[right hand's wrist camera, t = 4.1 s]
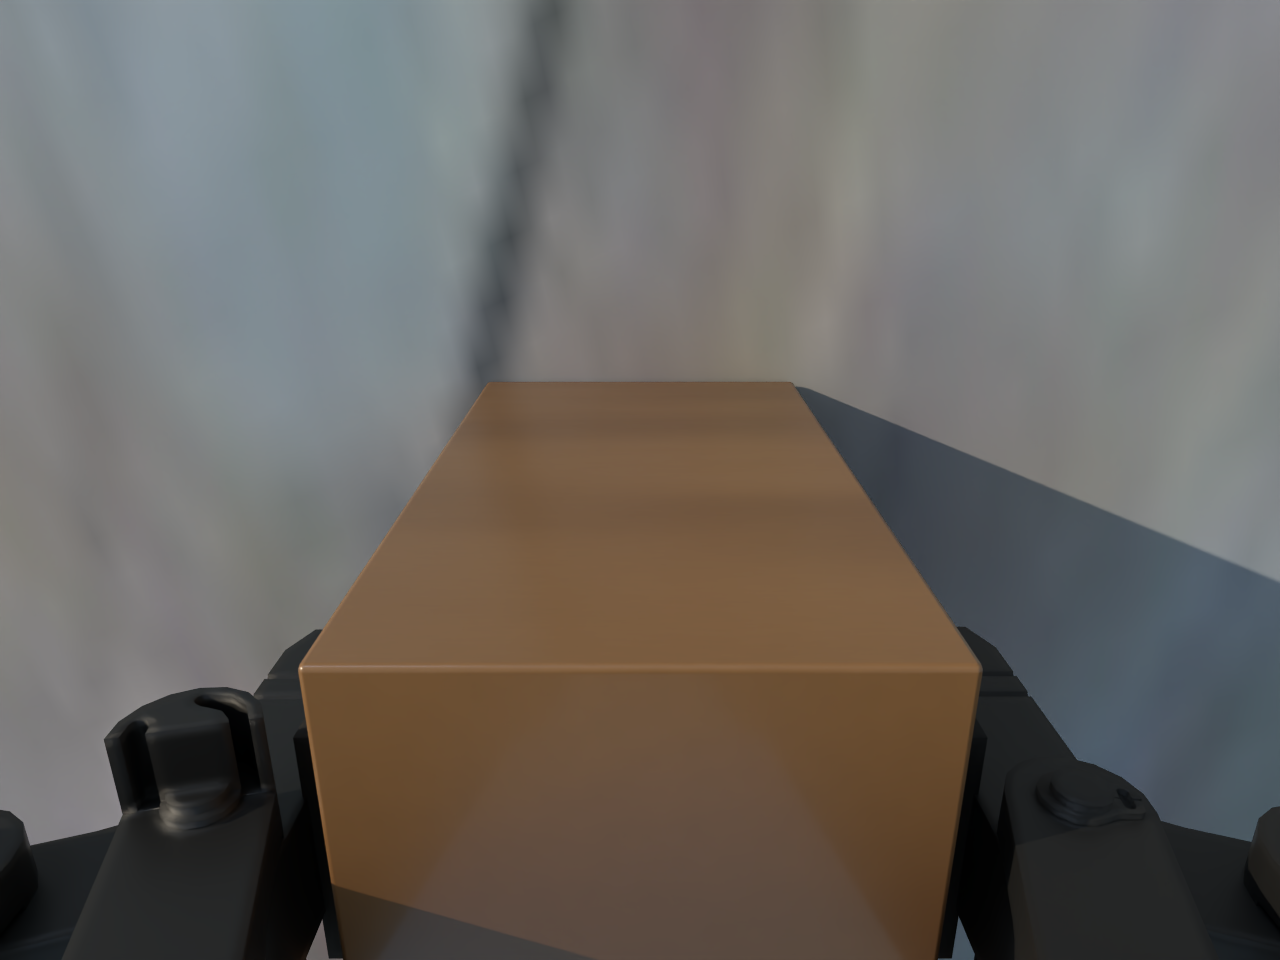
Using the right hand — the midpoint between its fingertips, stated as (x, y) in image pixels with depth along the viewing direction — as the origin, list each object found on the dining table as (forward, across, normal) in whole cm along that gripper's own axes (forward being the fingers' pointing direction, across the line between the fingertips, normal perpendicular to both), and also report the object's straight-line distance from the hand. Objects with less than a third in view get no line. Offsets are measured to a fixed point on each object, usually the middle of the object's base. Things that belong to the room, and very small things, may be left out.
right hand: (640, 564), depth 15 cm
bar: (+1, 0, -10) cm, 10 cm away
